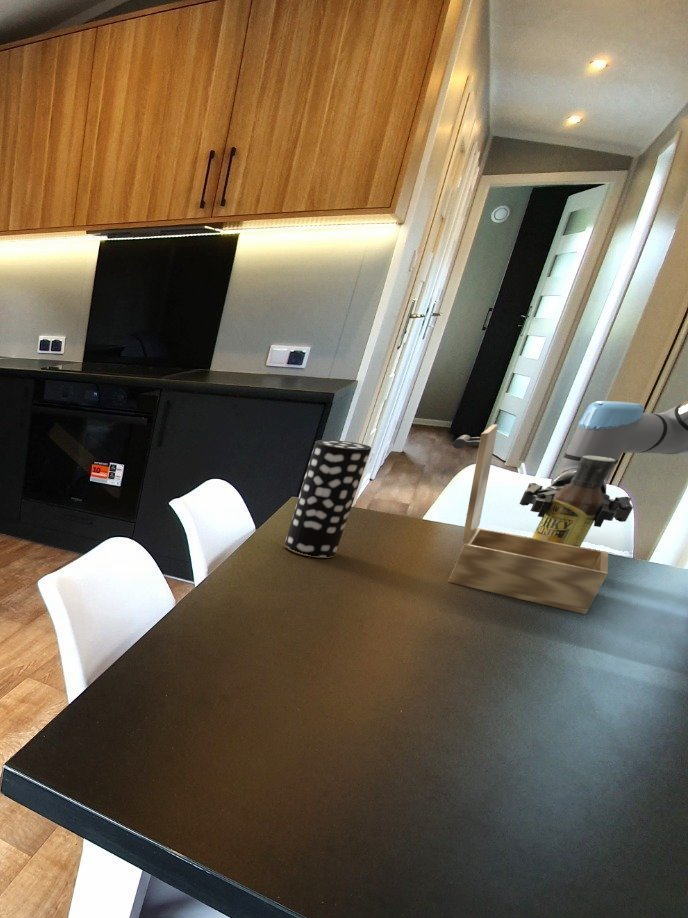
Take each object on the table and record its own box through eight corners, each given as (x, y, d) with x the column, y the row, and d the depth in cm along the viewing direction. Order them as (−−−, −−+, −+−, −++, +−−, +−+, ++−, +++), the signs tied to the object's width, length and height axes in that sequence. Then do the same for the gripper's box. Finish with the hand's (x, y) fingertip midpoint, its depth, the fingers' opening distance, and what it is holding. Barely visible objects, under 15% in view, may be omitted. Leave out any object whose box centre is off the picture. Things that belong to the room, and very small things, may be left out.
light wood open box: (587, 590, 105) (608, 552, 102) (585, 614, 96) (607, 573, 93) (460, 562, 116) (475, 527, 113) (447, 582, 107) (464, 544, 104)
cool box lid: (498, 424, 107) (463, 425, 110) (488, 433, 98) (451, 434, 102) (479, 525, 112) (446, 523, 115) (468, 541, 104) (433, 539, 107)
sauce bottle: (511, 560, 117) (560, 452, 109) (544, 560, 117) (596, 453, 109) (543, 573, 112) (597, 460, 103) (578, 574, 112) (636, 461, 103)
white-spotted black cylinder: (344, 559, 116) (383, 450, 108) (299, 558, 116) (334, 448, 108) (317, 544, 124) (351, 440, 115) (274, 543, 124) (305, 439, 115)
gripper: (639, 521, 116) (643, 550, 102) (502, 499, 129) (488, 521, 114) (661, 481, 113) (668, 505, 99) (518, 462, 126) (506, 481, 111)
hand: (571, 514), depth 107 cm, fingers closed on sauce bottle, 6 cm apart
